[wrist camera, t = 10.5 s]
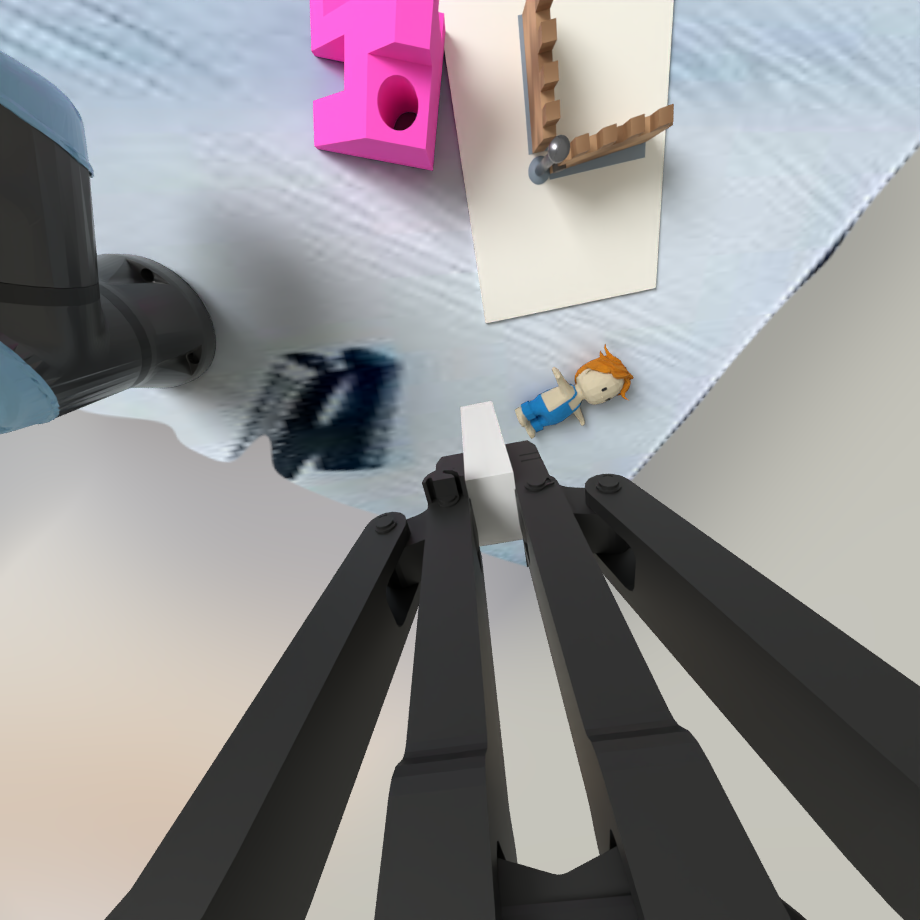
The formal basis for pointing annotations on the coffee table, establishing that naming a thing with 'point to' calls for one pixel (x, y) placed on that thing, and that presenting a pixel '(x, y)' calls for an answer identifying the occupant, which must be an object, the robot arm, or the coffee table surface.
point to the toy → (576, 393)
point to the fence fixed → (541, 72)
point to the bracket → (380, 77)
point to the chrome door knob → (554, 154)
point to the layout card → (510, 146)
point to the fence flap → (616, 138)
